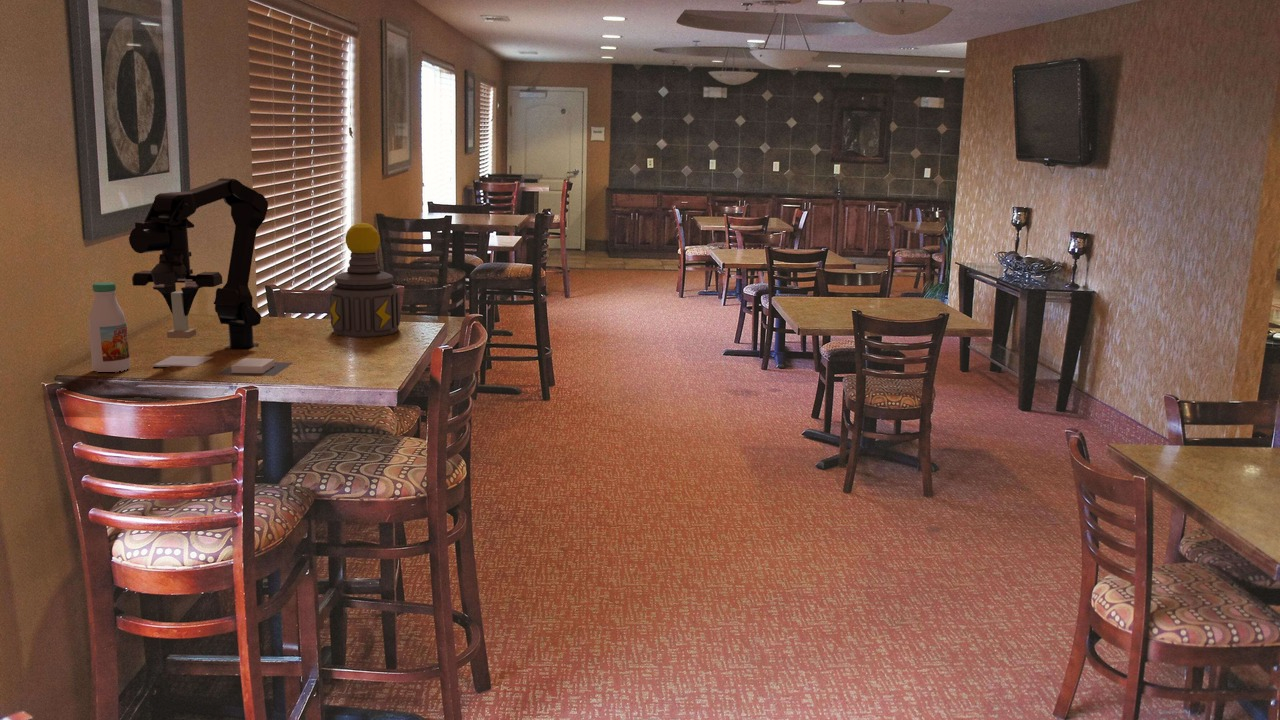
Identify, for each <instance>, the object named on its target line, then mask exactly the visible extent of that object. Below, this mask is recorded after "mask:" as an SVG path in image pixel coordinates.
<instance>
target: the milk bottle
mask: <svg viewBox="0 0 1280 720" xmlns="http://www.w3.org/2000/svg"><path fill="white" fill-rule="evenodd" d="M116 290H117V289H116V283H115V282H110V281H109V282H108V281H105V282H104V281H103V282H102V281H101V282H95V283H93V284H92V292H93V295H94V300H93V304H92V307H91V308H90V312H89V315H88V335H89V346H90V347H89V348H90V354H91V355H90V356H91V366H92V367H91V368H92V370H93V372H94V371H98V372H115V373H120V372H119V371H121V372H125V371H128V370H130V368H131V359H130V346H129V335H128V327H127V319H126V316H125V313H124V311H123V308H122V306H120V304H119V302H118V300H117V297H116V293H117V291H116ZM127 369H128V370H127ZM124 370H125V371H124ZM98 372H97V373H98Z"/></svg>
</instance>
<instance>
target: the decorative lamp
mask: <svg viewBox="0 0 1280 720" xmlns="http://www.w3.org/2000/svg"><path fill="white" fill-rule="evenodd" d="M380 243H381V236H380V234H379V232H378V230H377V229H376V228H375V227H374V226H373V225H372V224H370V223H368V222H358V223H355V224H353V225H351V226H350V228H348V230H347V231H346V235H345V244H346V247H347V249H348V250H349V251H350V252H351V253H350V259H349V261H348V265H349V266H348V267H347V269H346V271H345V272H340V273H339V274H337V275H335V276H334V283H336V284H334V285H333V286H331V292H330V293H329V303H330V305H329V307H330V308H329V311H330V326H331V327H332V329H333V334H335V335H338V336H341V337H347V338H377V337H385V336H389V335H393V334H395V333H396V332H398V330H399V326H400V324H401V317H400V316H401V312H400V311H401V310H400V292H399V291H398V286H397V285H396V284H394V283H393V282H394V276H393V275H392V274H390V273H388V272H386V271H381V266H379V265H378V264H379V261H378V259H377V253H376V251H377V250H378V249H379V246H380Z"/></svg>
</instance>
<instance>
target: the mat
mask: <svg viewBox="0 0 1280 720" xmlns="http://www.w3.org/2000/svg"><path fill="white" fill-rule="evenodd" d="M239 361H240V360H239ZM239 361H237V362H239ZM234 364H235V363H234ZM234 364H232V365H234ZM292 364H293V362H287V361H286V362H285V361H284V362H282V361H281V362H280V361H279V362H276V361H275V366H274V367H272V368H270V369H269V370H267V371H266V372H264V373H263V374H244V373H232V370H231V366H232V365H229V366H228V367H227V368H225V369H223V370H222V371H220V372H218V373H217V375H219V376H220V375H224V376H225V375H227V376H266V377H267V376H268V377H269V376H271V377H272V376H276V375H278V374H279V373H281V372H282V371H284V370H285V369H286V368H288V367H289V366H291V365H292Z"/></svg>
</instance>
